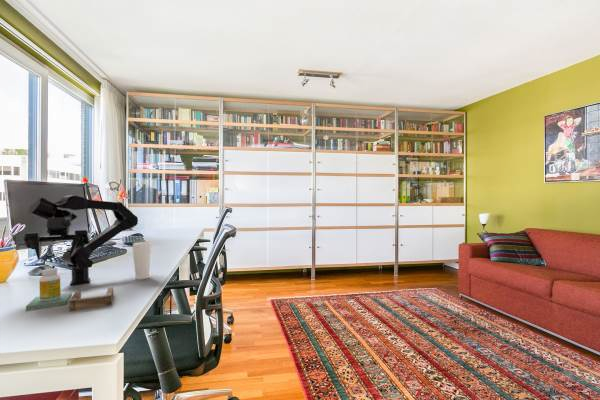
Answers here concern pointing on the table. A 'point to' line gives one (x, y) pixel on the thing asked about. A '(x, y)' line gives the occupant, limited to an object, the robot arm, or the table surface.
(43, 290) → the supplement bottle
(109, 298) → the frame
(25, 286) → the table surface
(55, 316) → the table surface
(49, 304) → the green mat
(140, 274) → the white tall cylinder
